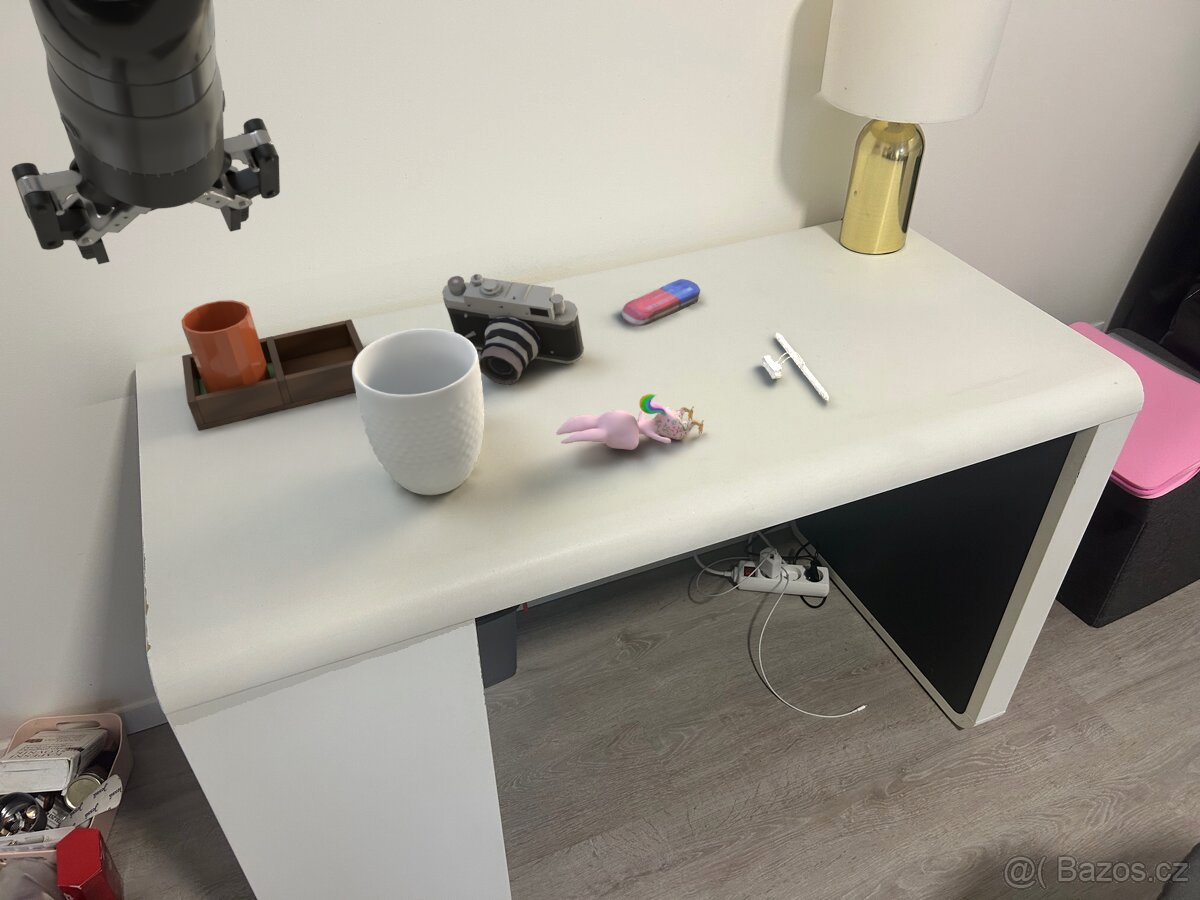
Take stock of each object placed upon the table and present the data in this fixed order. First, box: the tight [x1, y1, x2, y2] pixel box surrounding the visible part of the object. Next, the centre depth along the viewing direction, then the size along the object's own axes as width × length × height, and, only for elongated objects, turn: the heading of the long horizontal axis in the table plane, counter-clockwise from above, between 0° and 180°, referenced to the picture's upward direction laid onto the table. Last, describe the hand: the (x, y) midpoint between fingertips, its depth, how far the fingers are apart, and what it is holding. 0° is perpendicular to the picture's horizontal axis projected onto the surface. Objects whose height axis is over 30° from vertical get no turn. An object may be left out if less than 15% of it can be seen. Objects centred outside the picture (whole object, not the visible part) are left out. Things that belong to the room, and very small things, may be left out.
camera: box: [441, 273, 585, 385], centre depth 93 cm, size 16×9×10 cm, turn 73°
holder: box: [181, 318, 365, 431], centre depth 93 cm, size 18×10×4 cm, turn 114°
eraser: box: [621, 278, 701, 327], centre depth 106 cm, size 11×4×2 cm, turn 129°
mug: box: [352, 327, 485, 496], centre depth 79 cm, size 15×11×13 cm
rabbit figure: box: [555, 393, 706, 451], centre depth 83 cm, size 6×6×15 cm
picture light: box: [760, 332, 830, 402], centre depth 95 cm, size 14×4×2 cm, turn 14°
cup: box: [180, 299, 271, 394], centre depth 89 cm, size 7×7×9 cm
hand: (165, 233), depth 58 cm, fingers open, 8 cm apart
